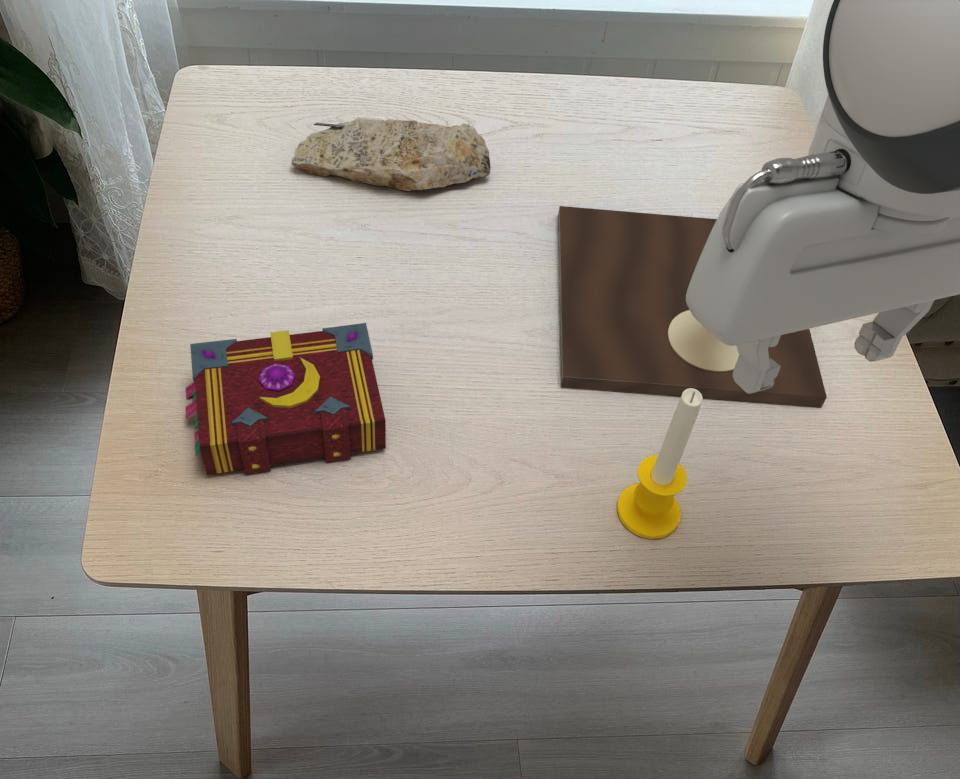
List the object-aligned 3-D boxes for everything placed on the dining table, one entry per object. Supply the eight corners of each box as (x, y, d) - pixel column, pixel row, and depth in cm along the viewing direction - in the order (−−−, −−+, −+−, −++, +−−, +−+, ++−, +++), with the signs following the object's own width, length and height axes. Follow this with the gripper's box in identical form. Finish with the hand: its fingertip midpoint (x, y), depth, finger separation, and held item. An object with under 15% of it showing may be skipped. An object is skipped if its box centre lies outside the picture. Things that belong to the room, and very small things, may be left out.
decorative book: (388, 454, 80) (388, 417, 76) (191, 484, 77) (180, 447, 73) (366, 355, 87) (365, 317, 83) (184, 379, 84) (175, 340, 80)
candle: (683, 540, 77) (737, 422, 65) (619, 538, 76) (662, 418, 64) (675, 487, 80) (725, 365, 68) (614, 484, 80) (653, 361, 68)
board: (778, 235, 102) (783, 222, 101) (821, 407, 87) (827, 396, 86) (557, 216, 102) (559, 204, 100) (560, 387, 86) (563, 375, 85)
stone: (498, 119, 104) (479, 142, 96) (495, 178, 107) (477, 204, 99) (317, 104, 108) (283, 124, 99) (319, 161, 111) (287, 185, 102)
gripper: (794, 197, 40) (704, 443, 48) (1092, 153, 48) (972, 368, 57) (702, 134, 44) (635, 371, 52) (992, 103, 52) (894, 311, 61)
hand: (813, 369), depth 55 cm, fingers open, 8 cm apart
